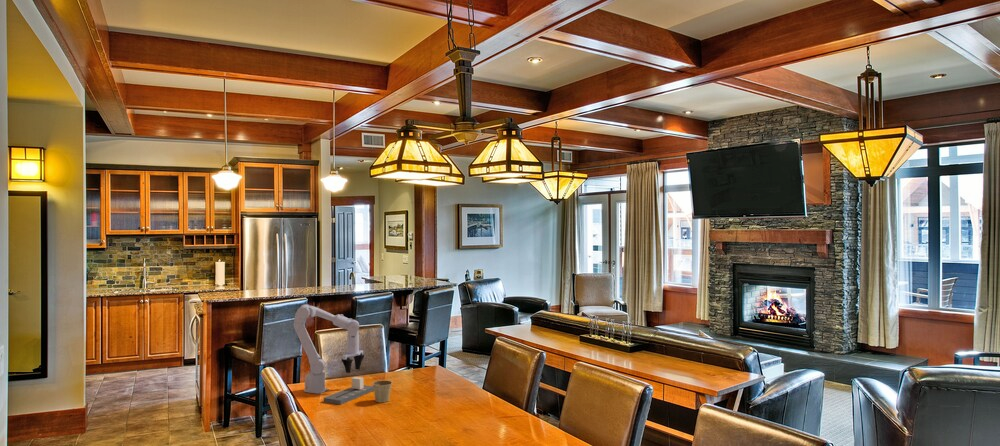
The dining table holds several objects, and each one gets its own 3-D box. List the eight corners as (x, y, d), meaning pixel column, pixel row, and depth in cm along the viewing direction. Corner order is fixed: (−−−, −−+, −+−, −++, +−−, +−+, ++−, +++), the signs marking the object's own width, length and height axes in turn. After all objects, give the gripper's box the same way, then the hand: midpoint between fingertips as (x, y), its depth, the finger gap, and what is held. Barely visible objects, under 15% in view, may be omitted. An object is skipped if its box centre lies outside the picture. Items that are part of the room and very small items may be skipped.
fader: (351, 388, 285) (351, 378, 285) (355, 386, 288) (355, 376, 288) (359, 389, 283) (359, 379, 283) (363, 387, 286) (363, 377, 286)
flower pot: (394, 398, 276) (394, 380, 277) (389, 404, 267) (389, 385, 267) (375, 397, 277) (375, 379, 277) (369, 403, 268) (369, 385, 268)
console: (323, 402, 270) (323, 397, 270) (358, 388, 294) (358, 384, 294) (340, 404, 266) (340, 400, 266) (374, 390, 290) (374, 386, 290)
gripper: (350, 347, 283) (350, 375, 283) (368, 342, 297) (368, 368, 296) (339, 346, 286) (338, 373, 286) (357, 341, 299) (356, 367, 299)
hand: (352, 370), depth 291 cm, fingers open, 7 cm apart
